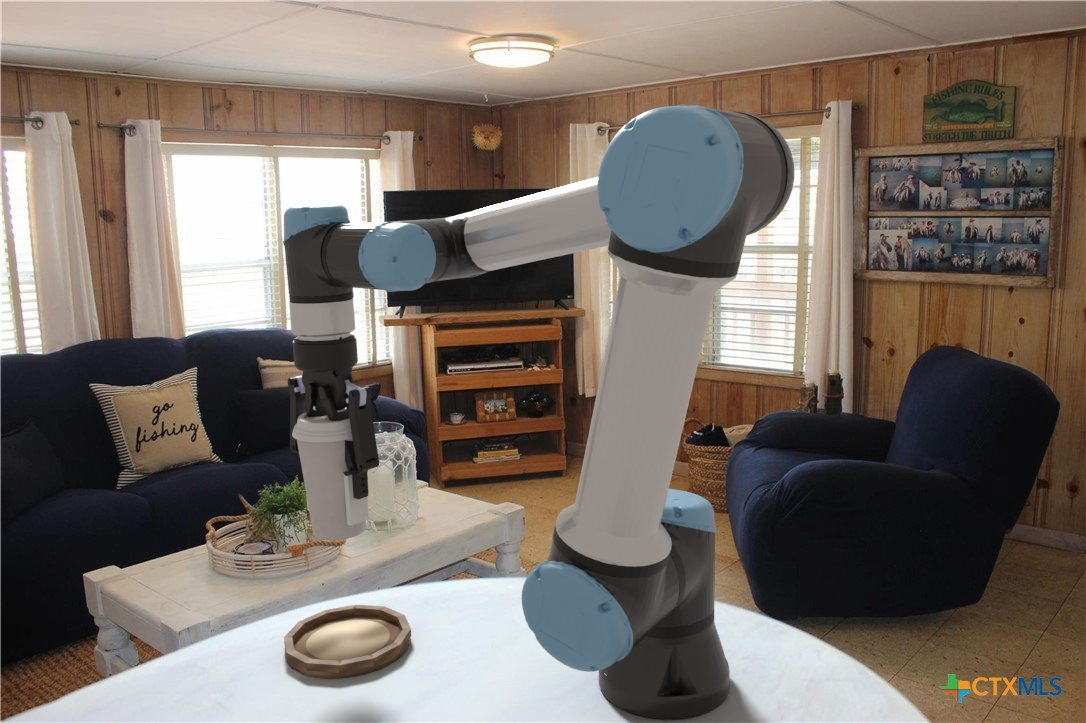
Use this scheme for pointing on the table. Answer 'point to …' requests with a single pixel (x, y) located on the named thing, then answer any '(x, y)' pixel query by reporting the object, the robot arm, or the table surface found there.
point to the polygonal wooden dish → (347, 641)
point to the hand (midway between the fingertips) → (337, 514)
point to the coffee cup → (325, 474)
